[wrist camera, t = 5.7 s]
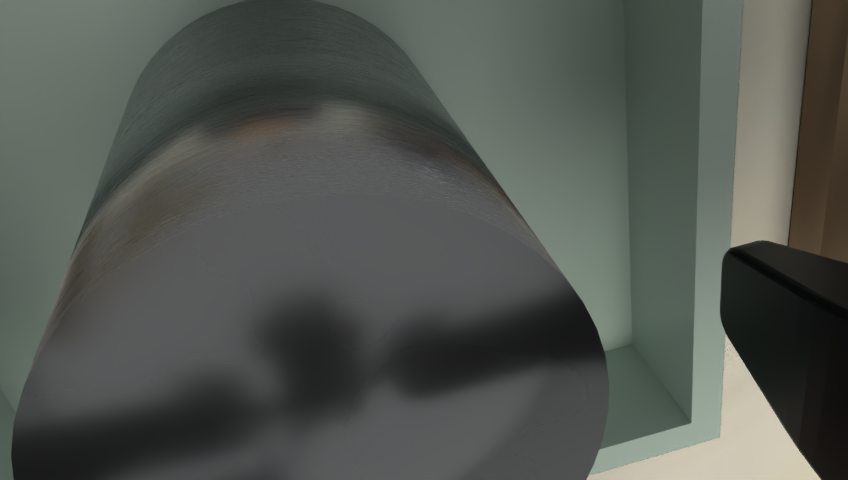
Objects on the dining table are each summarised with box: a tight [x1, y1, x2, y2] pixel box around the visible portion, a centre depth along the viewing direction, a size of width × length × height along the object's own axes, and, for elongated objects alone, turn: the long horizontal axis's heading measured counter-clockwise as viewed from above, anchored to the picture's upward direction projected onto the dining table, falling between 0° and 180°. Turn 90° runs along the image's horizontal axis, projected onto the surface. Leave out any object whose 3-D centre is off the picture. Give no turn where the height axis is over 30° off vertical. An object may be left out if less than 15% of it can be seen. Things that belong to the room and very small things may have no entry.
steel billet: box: [11, 0, 609, 480], centre depth 10 cm, size 5×5×7 cm
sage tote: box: [0, 0, 743, 480], centre depth 12 cm, size 13×13×3 cm
